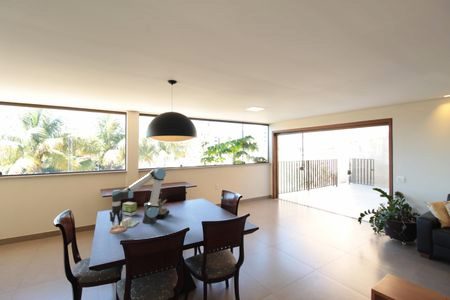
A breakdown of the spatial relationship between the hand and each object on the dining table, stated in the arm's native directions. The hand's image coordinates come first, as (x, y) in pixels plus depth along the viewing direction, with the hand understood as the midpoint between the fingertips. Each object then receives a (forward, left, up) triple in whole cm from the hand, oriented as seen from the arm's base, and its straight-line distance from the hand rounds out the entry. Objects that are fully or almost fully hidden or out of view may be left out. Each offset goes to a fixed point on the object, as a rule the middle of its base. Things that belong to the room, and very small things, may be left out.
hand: (116, 228), depth 213 cm
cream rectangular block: (-1, -23, -3) cm, 23 cm away
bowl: (0, -3, -3) cm, 4 cm away
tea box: (+16, -58, -3) cm, 60 cm away
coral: (-25, -52, -3) cm, 58 cm away
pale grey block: (-1, -16, -3) cm, 16 cm away
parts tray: (-1, -19, -3) cm, 19 cm away
